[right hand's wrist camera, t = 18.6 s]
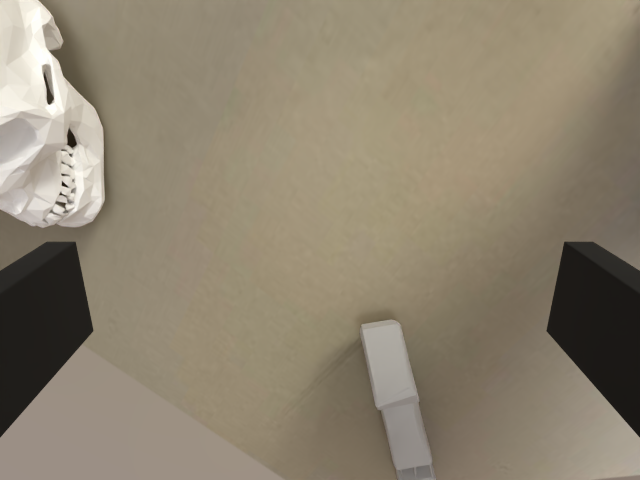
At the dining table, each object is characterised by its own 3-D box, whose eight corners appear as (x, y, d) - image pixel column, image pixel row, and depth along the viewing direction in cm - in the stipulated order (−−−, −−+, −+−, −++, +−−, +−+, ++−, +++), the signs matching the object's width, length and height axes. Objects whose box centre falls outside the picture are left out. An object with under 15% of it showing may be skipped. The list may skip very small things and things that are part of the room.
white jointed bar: (355, 317, 40) (363, 371, 34) (397, 308, 40) (412, 361, 34) (396, 465, 49) (408, 529, 43) (430, 458, 48) (447, 522, 42)
